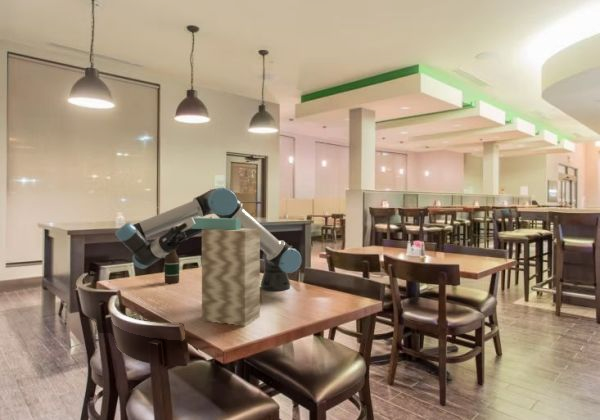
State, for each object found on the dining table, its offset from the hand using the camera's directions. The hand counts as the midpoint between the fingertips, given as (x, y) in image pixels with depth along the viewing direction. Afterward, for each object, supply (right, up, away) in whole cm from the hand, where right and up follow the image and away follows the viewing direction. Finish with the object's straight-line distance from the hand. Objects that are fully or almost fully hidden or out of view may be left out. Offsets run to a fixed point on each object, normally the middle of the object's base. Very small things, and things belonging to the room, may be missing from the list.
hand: (204, 219), depth 149 cm
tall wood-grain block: (+11, -38, -3) cm, 39 cm away
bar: (+5, -4, -1) cm, 6 cm away
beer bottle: (-32, -36, +60) cm, 77 cm away
